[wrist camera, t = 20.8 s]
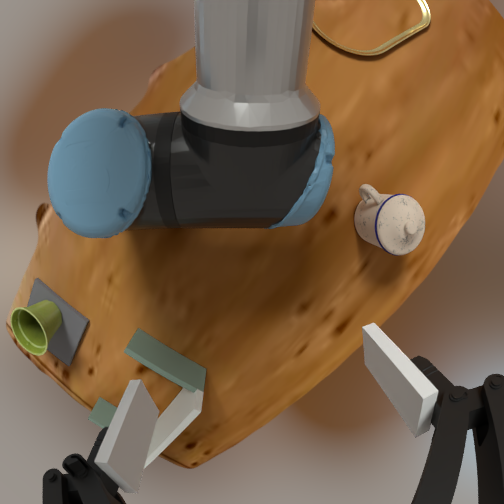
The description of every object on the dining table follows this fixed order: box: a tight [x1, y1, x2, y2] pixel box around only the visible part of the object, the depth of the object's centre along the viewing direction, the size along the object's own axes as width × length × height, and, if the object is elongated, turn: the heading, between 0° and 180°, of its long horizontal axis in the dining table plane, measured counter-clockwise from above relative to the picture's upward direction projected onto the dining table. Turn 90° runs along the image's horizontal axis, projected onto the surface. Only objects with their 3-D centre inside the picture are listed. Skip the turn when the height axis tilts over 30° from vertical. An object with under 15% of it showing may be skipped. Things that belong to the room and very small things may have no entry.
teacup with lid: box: [354, 184, 425, 255], centre depth 40 cm, size 12×9×12 cm
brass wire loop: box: [312, 0, 431, 56], centre depth 36 cm, size 19×35×2 cm, turn 131°
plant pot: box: [11, 300, 62, 355], centre depth 41 cm, size 9×9×9 cm
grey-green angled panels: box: [88, 328, 206, 468], centre depth 45 cm, size 15×24×12 cm, turn 144°
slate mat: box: [27, 278, 89, 366], centre depth 46 cm, size 14×14×1 cm
